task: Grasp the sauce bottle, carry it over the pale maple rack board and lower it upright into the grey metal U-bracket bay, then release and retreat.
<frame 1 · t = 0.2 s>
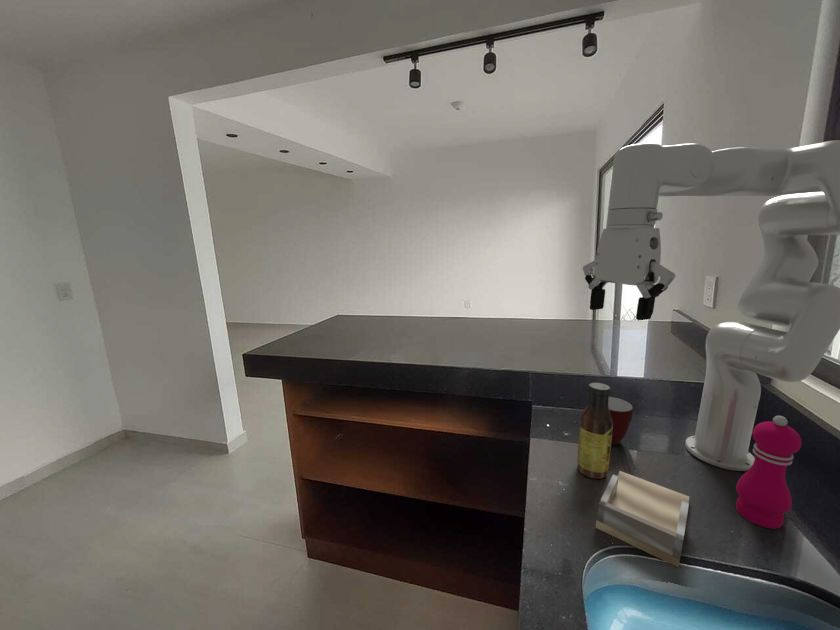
hand: (618, 313, 67), 36 cm above the worktop, tool pointing down, fingers open, 9 cm apart
pepper mill: (757, 516, 65), on the worktop
maple rack: (644, 514, 65), on the worktop
sauce bottle: (591, 471, 78), on the worktop
mug: (605, 438, 90), on the worktop
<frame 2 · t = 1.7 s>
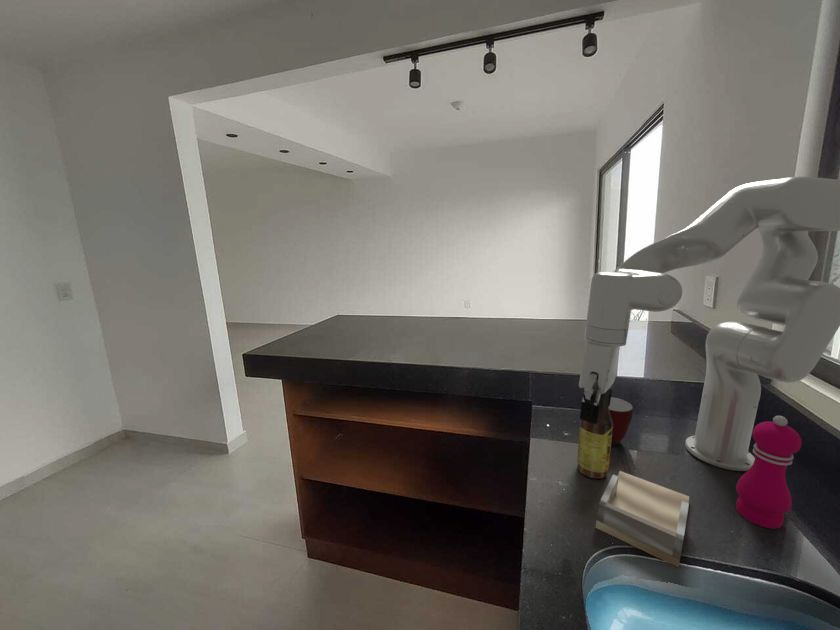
hand: (595, 412, 74), 14 cm above the worktop, tool pointing down, fingers open, 9 cm apart
nothing on the worktop moved.
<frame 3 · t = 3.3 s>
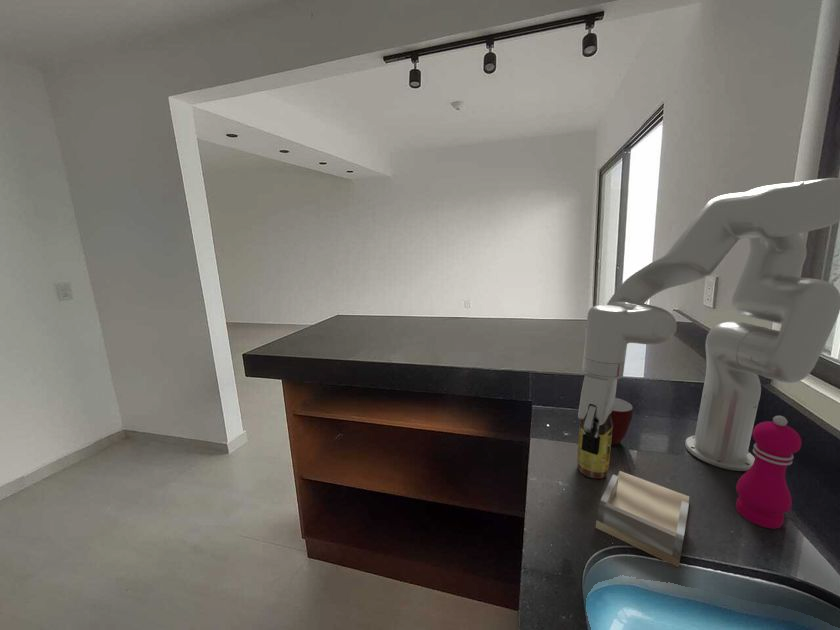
hand: (594, 443, 76), 7 cm above the worktop, tool pointing down, fingers closed on sauce bottle, 6 cm apart
sauce bottle: (591, 471, 78), on the worktop, touching gripper
everything else where it was.
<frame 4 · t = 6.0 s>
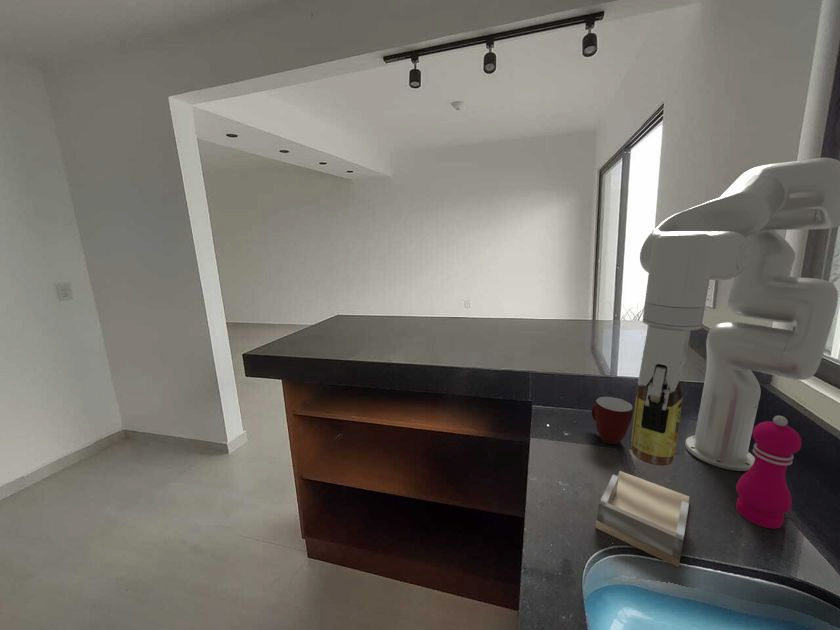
hand: (656, 420, 58), 21 cm above the worktop, tool pointing down, fingers closed on sauce bottle, 6 cm apart
sauce bottle: (650, 456, 60), point 14 cm above the worktop, touching gripper
everything else where it was.
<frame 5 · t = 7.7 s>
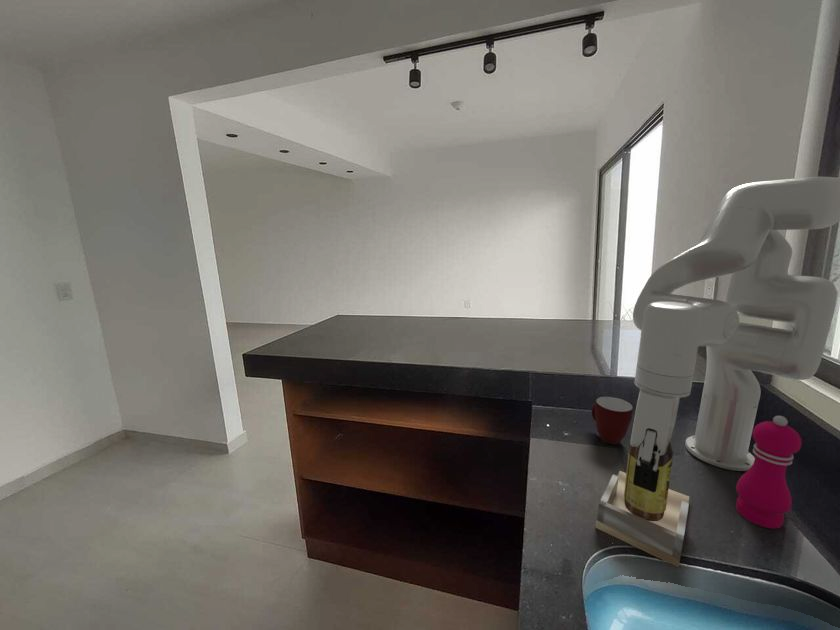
hand: (648, 476, 61), 10 cm above the worktop, tool pointing down, fingers closed on sauce bottle, 6 cm apart
sauce bottle: (642, 509, 62), point 3 cm above the worktop, touching gripper
everything else where it was.
when the fingers open (9 cm above the worktop, at t = 8.8 s): sauce bottle drops 1 cm, resting on maple rack.
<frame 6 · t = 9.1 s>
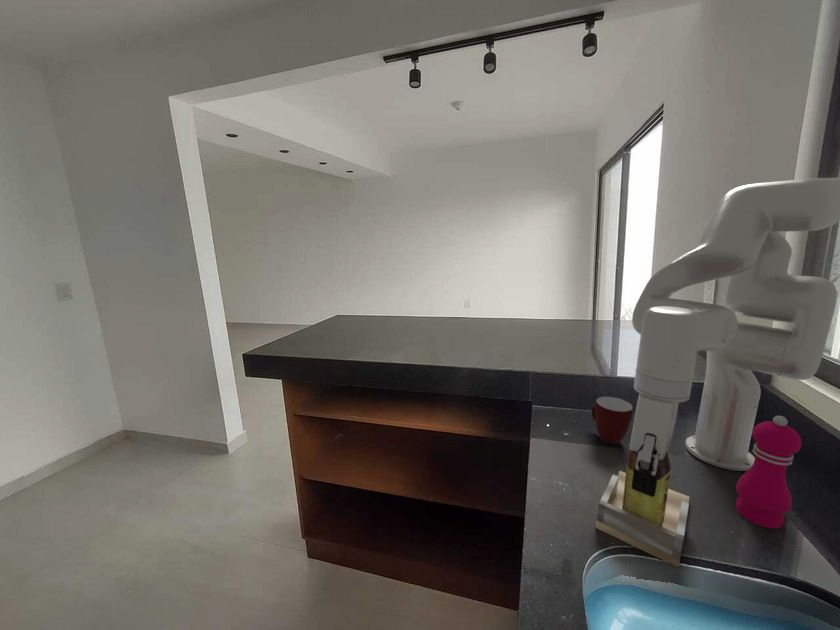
hand: (647, 477, 61), 10 cm above the worktop, tool pointing down, fingers open, 8 cm apart
sauce bottle: (640, 521, 62), point 1 cm above the worktop, touching maple rack
everything else where it was.
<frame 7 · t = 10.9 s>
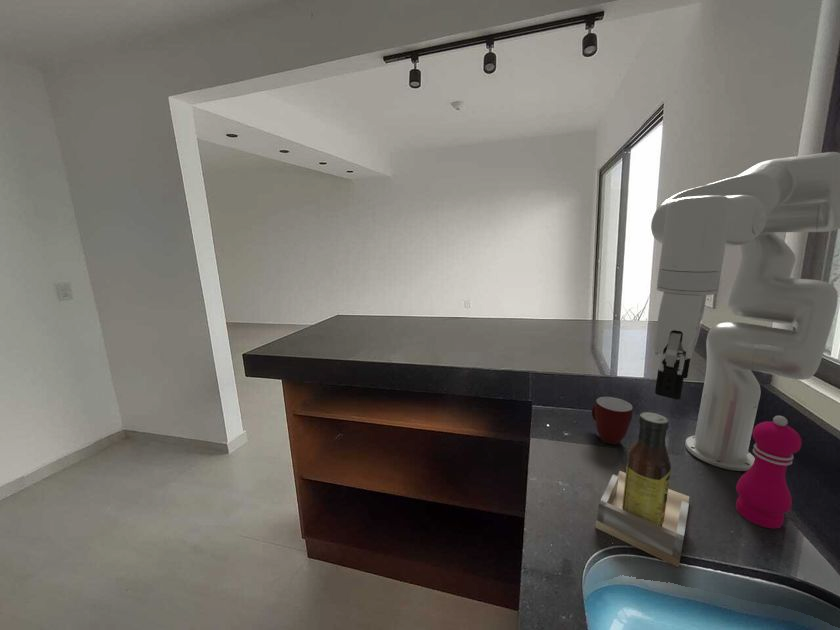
hand: (671, 385, 58), 27 cm above the worktop, tool pointing down, fingers open, 9 cm apart
nothing on the worktop moved.
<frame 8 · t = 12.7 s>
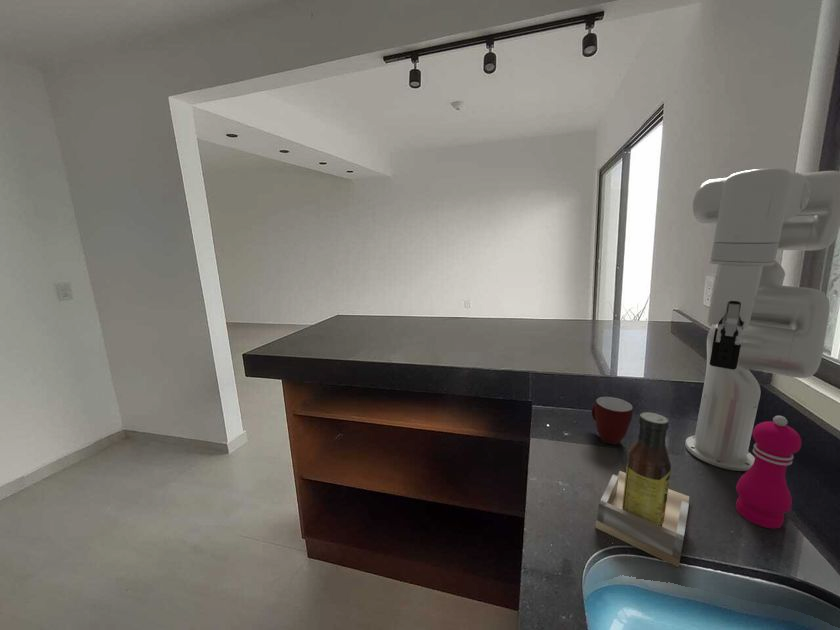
hand: (722, 358, 59), 30 cm above the worktop, tool pointing down, fingers open, 9 cm apart
nothing on the worktop moved.
at the end: sauce bottle 0.8 cm from the target spot on the maple rack, point 1.0 cm above the maple rack's base; sauce bottle tilted 0°; the gripper is holding nothing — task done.
